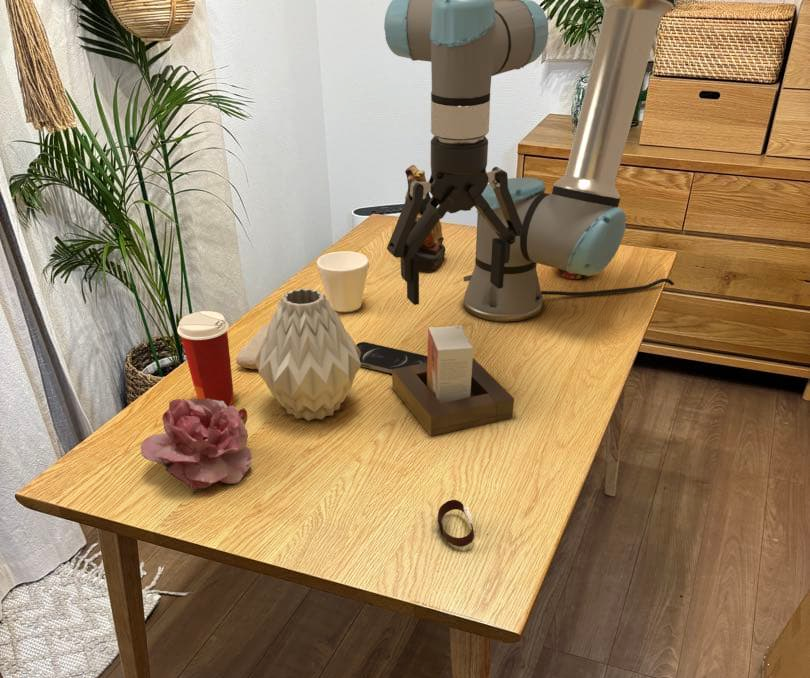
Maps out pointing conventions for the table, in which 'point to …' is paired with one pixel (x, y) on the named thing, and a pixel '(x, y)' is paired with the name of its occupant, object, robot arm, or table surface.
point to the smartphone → (387, 357)
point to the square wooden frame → (438, 418)
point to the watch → (459, 506)
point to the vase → (308, 356)
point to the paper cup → (208, 355)
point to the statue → (432, 246)
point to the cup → (343, 279)
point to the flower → (201, 442)
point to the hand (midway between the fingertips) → (455, 293)
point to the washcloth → (252, 349)
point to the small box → (449, 363)
